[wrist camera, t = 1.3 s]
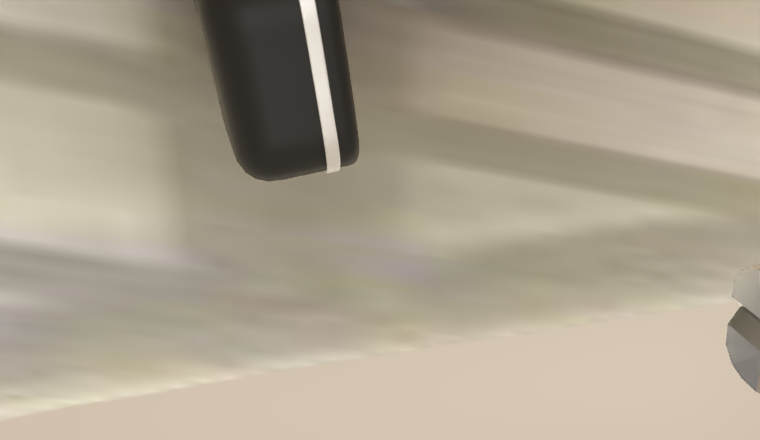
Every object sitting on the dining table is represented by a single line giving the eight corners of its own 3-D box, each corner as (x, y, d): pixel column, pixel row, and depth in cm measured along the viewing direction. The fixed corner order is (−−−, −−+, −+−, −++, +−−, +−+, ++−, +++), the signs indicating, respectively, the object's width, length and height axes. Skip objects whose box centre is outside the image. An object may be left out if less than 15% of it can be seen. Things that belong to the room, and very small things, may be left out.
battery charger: (178, -85, 27) (181, -31, 18) (278, -101, 28) (333, -57, 18) (221, 90, 31) (242, 215, 21) (308, 73, 31) (368, 186, 22)
